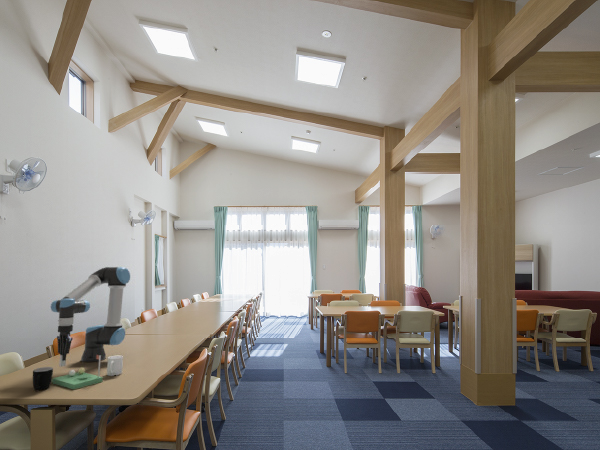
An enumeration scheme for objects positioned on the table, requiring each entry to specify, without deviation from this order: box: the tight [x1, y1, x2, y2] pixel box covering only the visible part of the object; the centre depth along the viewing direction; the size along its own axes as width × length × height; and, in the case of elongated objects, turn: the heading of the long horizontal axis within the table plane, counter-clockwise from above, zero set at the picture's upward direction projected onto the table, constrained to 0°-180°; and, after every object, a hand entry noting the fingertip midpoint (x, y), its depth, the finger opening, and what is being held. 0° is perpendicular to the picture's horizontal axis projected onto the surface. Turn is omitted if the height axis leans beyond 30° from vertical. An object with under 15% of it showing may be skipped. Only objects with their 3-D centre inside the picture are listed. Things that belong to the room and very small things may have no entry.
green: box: [51, 355, 104, 391], centre depth 212 cm, size 22×16×14 cm
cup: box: [106, 354, 124, 377], centre depth 227 cm, size 8×12×10 cm
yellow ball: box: [77, 367, 86, 374], centre depth 220 cm, size 3×3×3 cm
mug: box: [32, 366, 54, 392], centre depth 200 cm, size 12×9×10 cm
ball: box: [67, 369, 76, 376], centre depth 215 cm, size 3×3×3 cm
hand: (62, 365), depth 220 cm, fingers closed
